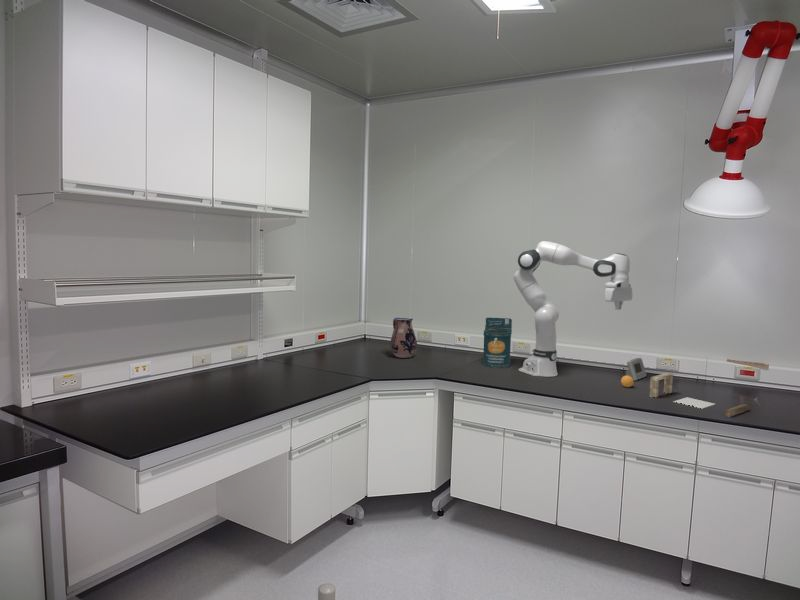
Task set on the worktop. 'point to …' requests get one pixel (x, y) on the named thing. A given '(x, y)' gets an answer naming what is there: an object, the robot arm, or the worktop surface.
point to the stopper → (736, 410)
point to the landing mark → (694, 402)
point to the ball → (627, 381)
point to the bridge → (655, 383)
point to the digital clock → (636, 369)
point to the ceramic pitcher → (403, 338)
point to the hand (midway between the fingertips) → (618, 309)
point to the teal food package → (497, 342)
